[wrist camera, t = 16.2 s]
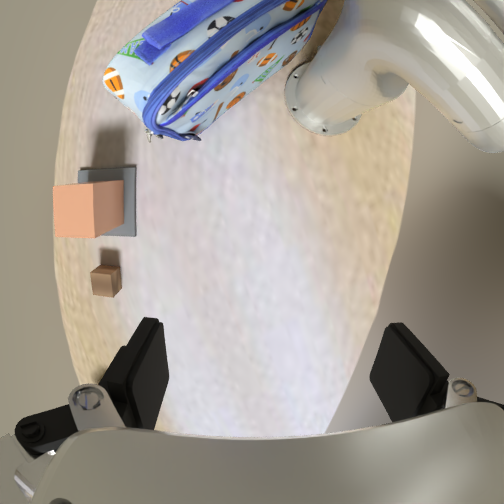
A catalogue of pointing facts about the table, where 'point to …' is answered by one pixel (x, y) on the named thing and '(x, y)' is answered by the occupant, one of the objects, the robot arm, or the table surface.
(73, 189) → the peach rectangular block
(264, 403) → the table surface
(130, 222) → the mat
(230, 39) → the lunch box
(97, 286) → the brown block
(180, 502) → the robot arm
